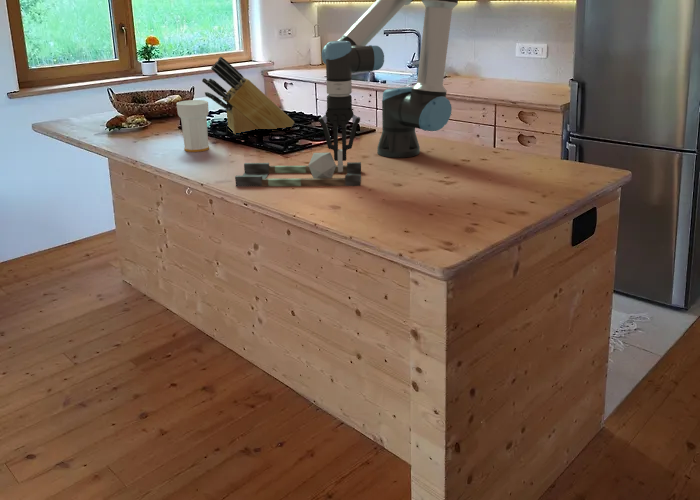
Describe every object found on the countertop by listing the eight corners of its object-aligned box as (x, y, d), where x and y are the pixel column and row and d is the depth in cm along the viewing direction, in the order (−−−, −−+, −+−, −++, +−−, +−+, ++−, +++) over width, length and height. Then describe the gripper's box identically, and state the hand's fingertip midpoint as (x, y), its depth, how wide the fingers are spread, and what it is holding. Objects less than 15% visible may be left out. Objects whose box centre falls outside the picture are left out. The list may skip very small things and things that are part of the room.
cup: (218, 147, 261) (214, 101, 255) (197, 154, 252) (192, 105, 246) (196, 144, 267) (192, 99, 260) (174, 150, 258) (169, 103, 251)
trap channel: (361, 171, 227) (361, 162, 225) (360, 185, 211) (360, 176, 210) (245, 171, 228) (244, 162, 227) (235, 186, 212) (235, 176, 211)
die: (326, 186, 213) (342, 158, 213) (301, 171, 213) (317, 143, 213) (326, 188, 222) (342, 161, 222) (302, 174, 222) (318, 147, 222)
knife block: (205, 132, 287) (198, 55, 276) (286, 125, 300) (283, 51, 289) (211, 138, 278) (204, 58, 266) (295, 129, 290) (291, 53, 279)
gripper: (316, 96, 206) (318, 173, 215) (360, 96, 206) (361, 173, 214) (318, 92, 213) (320, 167, 221) (360, 92, 213) (361, 167, 221)
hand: (340, 170), depth 218 cm, fingers closed
